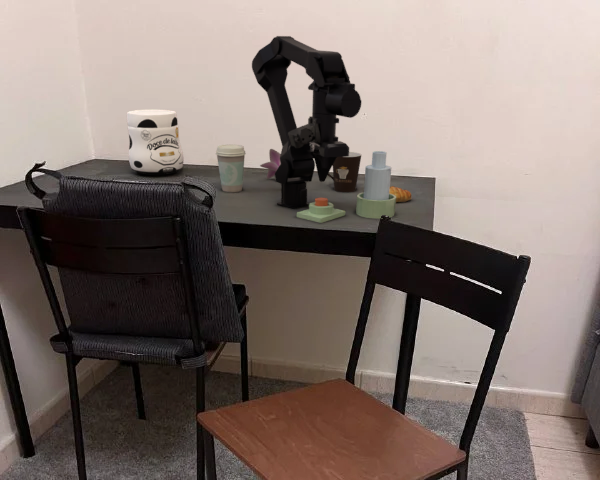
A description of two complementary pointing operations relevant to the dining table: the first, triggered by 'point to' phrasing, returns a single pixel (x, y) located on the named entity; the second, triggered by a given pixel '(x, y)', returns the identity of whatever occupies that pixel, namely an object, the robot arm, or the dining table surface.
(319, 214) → the panel
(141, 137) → the doce de leite jar
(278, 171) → the robot arm
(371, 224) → the dining table surface
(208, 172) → the dining table surface
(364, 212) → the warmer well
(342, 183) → the coffee mug
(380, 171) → the bottle
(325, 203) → the button
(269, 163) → the lily
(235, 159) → the coffee cup
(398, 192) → the pastry
